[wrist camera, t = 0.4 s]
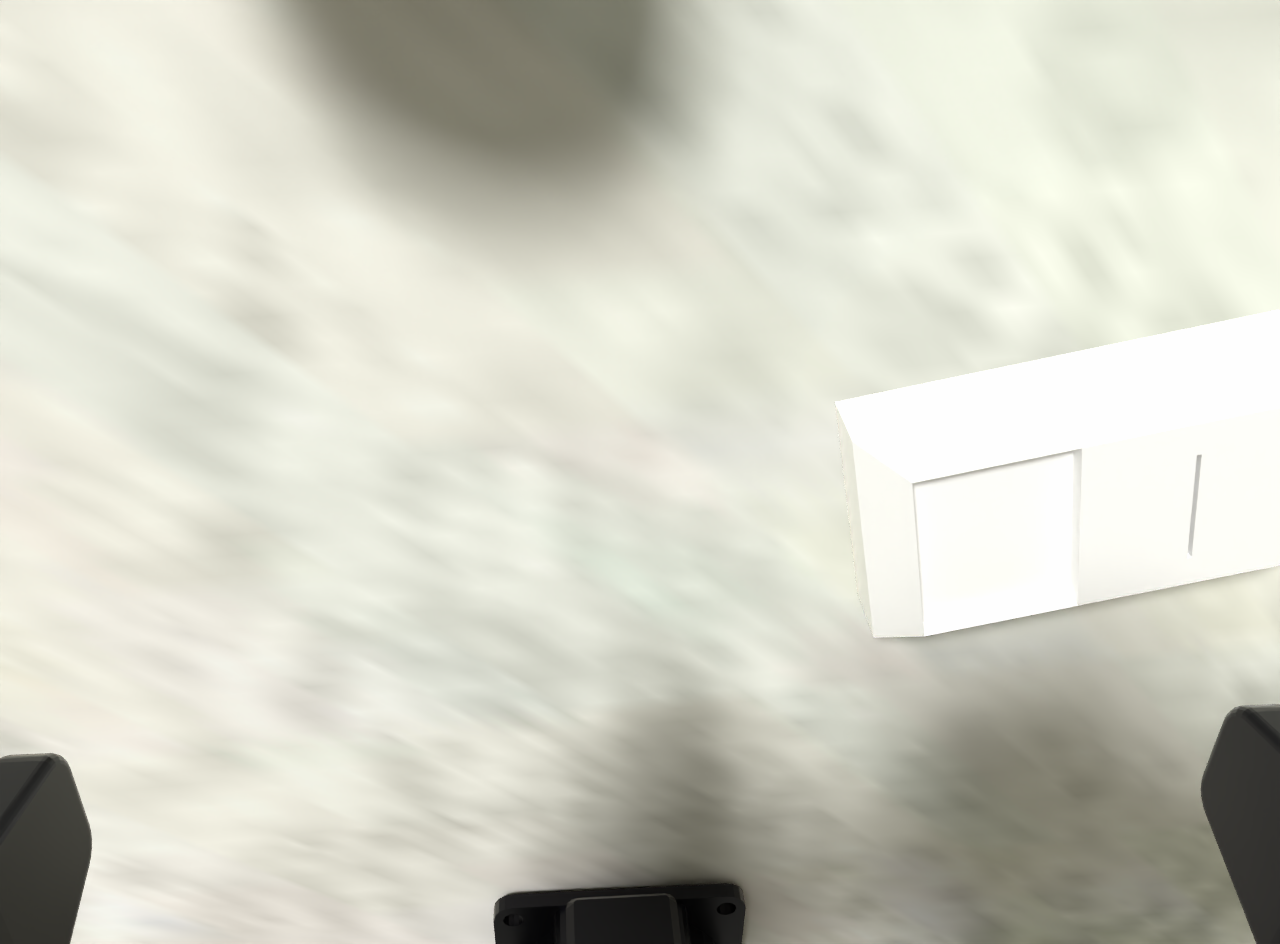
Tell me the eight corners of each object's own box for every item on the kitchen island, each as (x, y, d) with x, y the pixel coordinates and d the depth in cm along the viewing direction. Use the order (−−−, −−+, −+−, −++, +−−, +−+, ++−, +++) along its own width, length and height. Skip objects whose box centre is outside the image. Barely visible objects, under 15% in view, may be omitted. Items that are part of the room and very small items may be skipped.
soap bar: (1262, 500, 24) (1334, 576, 22) (853, 582, 25) (883, 666, 23) (1290, 296, 22) (1375, 360, 20) (830, 392, 22) (862, 465, 20)
